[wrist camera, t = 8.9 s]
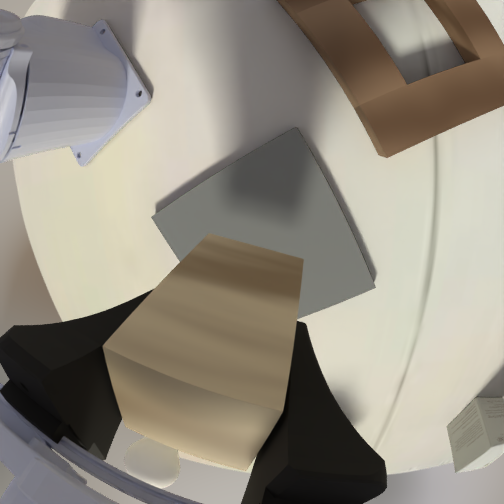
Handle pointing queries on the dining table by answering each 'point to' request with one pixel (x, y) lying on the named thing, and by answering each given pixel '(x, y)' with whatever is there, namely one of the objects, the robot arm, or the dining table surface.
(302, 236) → the mat
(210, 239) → the peg
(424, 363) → the dining table surface
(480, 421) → the product box
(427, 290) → the dining table surface
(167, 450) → the lightbulb
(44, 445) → the robot arm
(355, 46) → the holder
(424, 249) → the dining table surface
